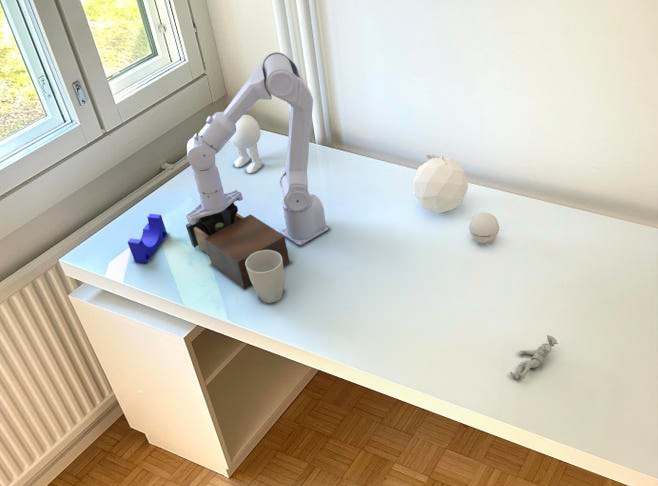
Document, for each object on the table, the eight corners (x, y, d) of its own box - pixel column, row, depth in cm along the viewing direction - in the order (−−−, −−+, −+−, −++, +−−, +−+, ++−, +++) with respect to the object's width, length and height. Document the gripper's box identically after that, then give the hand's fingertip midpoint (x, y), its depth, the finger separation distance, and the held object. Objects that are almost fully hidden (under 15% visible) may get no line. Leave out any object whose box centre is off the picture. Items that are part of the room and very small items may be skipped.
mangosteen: (235, 239, 182) (231, 224, 179) (221, 247, 180) (217, 232, 176) (225, 232, 184) (221, 217, 181) (211, 240, 182) (207, 225, 179)
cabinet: (212, 265, 178) (204, 238, 172) (256, 240, 184) (250, 214, 179) (244, 289, 171) (237, 262, 165) (289, 262, 178) (284, 236, 172)
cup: (295, 288, 171) (288, 253, 164) (279, 310, 165) (271, 275, 158) (263, 281, 173) (256, 247, 166) (247, 303, 167) (238, 268, 160)
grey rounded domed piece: (463, 244, 181) (463, 219, 175) (476, 228, 185) (477, 203, 180) (500, 255, 177) (502, 230, 172) (513, 238, 182) (514, 213, 176)
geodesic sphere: (390, 185, 189) (414, 156, 177) (426, 162, 197) (451, 132, 185) (426, 231, 190) (453, 205, 178) (460, 206, 198) (488, 180, 185)
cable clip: (151, 232, 188) (144, 213, 184) (167, 234, 187) (160, 214, 183) (129, 261, 180) (121, 241, 176) (146, 263, 179) (138, 243, 175)
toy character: (228, 166, 210) (216, 117, 199) (252, 153, 215) (242, 105, 204) (249, 177, 206) (238, 127, 195) (273, 163, 210) (263, 114, 200)
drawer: (181, 238, 185) (175, 217, 180) (221, 217, 191) (216, 196, 186) (220, 266, 176) (214, 245, 172) (261, 243, 182) (256, 223, 177)
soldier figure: (501, 374, 151) (530, 329, 155) (517, 388, 152) (546, 343, 156) (521, 371, 144) (551, 324, 147) (538, 387, 145) (567, 340, 149)
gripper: (225, 169, 177) (237, 216, 186) (173, 194, 170) (188, 241, 179) (242, 179, 173) (253, 227, 183) (190, 205, 166) (204, 253, 176)
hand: (222, 235), depth 181 cm, fingers closed on mangosteen, 4 cm apart
